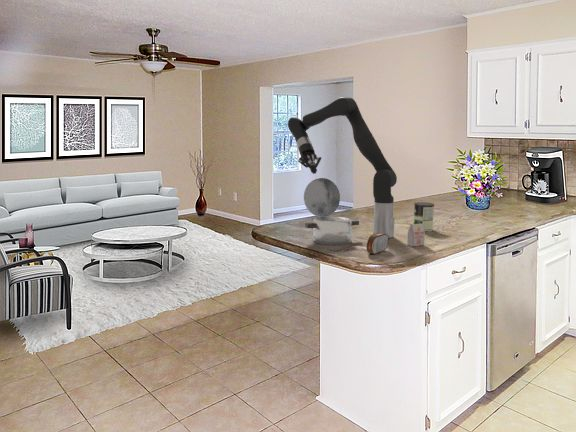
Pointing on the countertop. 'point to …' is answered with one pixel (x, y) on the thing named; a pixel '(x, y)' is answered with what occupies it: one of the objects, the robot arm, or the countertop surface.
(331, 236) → the cooker pot
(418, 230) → the milk carton
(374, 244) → the tin
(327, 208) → the cooker lid
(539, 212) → the countertop surface
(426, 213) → the coffee can
